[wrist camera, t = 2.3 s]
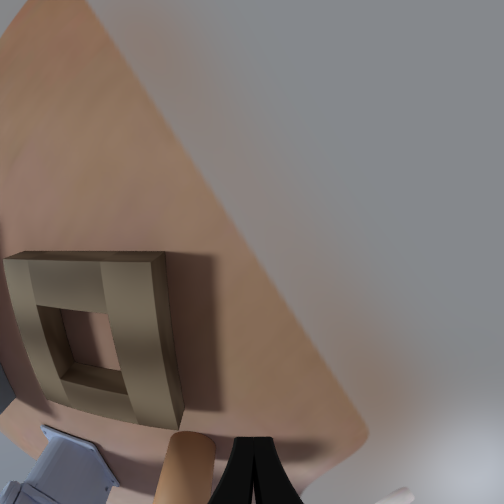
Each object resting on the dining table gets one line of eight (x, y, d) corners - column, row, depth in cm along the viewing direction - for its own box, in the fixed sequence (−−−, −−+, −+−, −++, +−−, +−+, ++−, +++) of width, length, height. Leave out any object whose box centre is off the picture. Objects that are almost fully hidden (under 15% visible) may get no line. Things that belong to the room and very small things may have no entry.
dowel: (217, 458, 20) (210, 530, 12) (174, 454, 20) (158, 522, 12) (213, 433, 19) (203, 513, 11) (166, 428, 19) (143, 504, 11)
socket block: (184, 407, 18) (178, 430, 16) (59, 383, 18) (46, 399, 16) (164, 251, 16) (150, 262, 13) (24, 251, 15) (2, 258, 13)
